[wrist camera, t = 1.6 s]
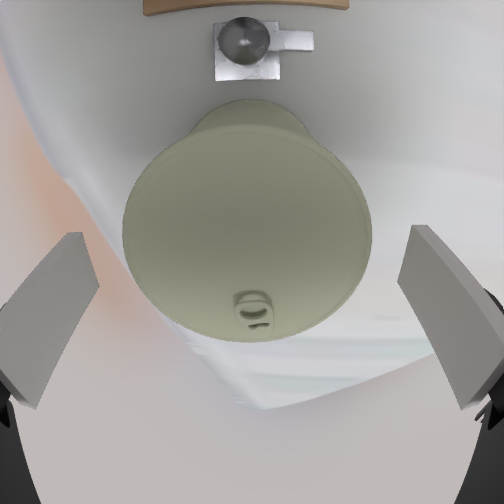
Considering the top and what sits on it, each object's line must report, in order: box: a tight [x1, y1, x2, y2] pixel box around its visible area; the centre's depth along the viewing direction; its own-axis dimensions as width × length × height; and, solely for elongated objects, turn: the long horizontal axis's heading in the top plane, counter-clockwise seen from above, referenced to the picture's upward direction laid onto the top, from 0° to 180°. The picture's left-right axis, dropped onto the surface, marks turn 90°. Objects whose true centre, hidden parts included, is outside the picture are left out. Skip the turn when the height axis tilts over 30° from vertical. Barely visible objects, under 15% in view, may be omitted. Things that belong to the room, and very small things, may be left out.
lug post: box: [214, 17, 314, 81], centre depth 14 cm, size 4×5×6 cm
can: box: [122, 100, 372, 343], centre depth 15 cm, size 9×9×12 cm
